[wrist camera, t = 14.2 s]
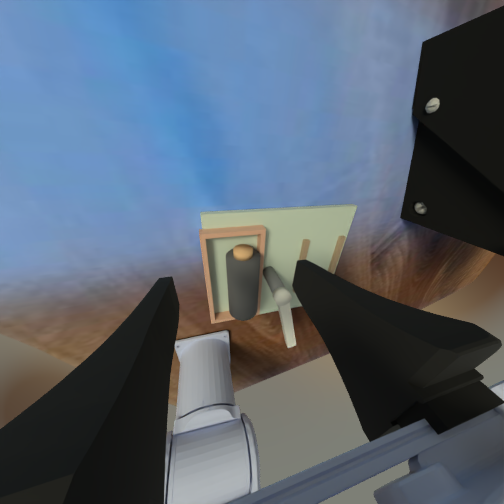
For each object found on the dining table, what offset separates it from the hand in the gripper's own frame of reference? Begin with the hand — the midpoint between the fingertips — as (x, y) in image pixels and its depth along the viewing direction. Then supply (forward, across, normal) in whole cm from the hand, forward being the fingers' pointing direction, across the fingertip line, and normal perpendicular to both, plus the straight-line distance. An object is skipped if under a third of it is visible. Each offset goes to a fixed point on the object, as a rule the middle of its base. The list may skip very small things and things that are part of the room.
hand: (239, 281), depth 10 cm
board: (+10, -7, +7) cm, 14 cm away
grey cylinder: (+9, -1, +7) cm, 11 cm away
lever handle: (+5, -7, +11) cm, 14 cm away
